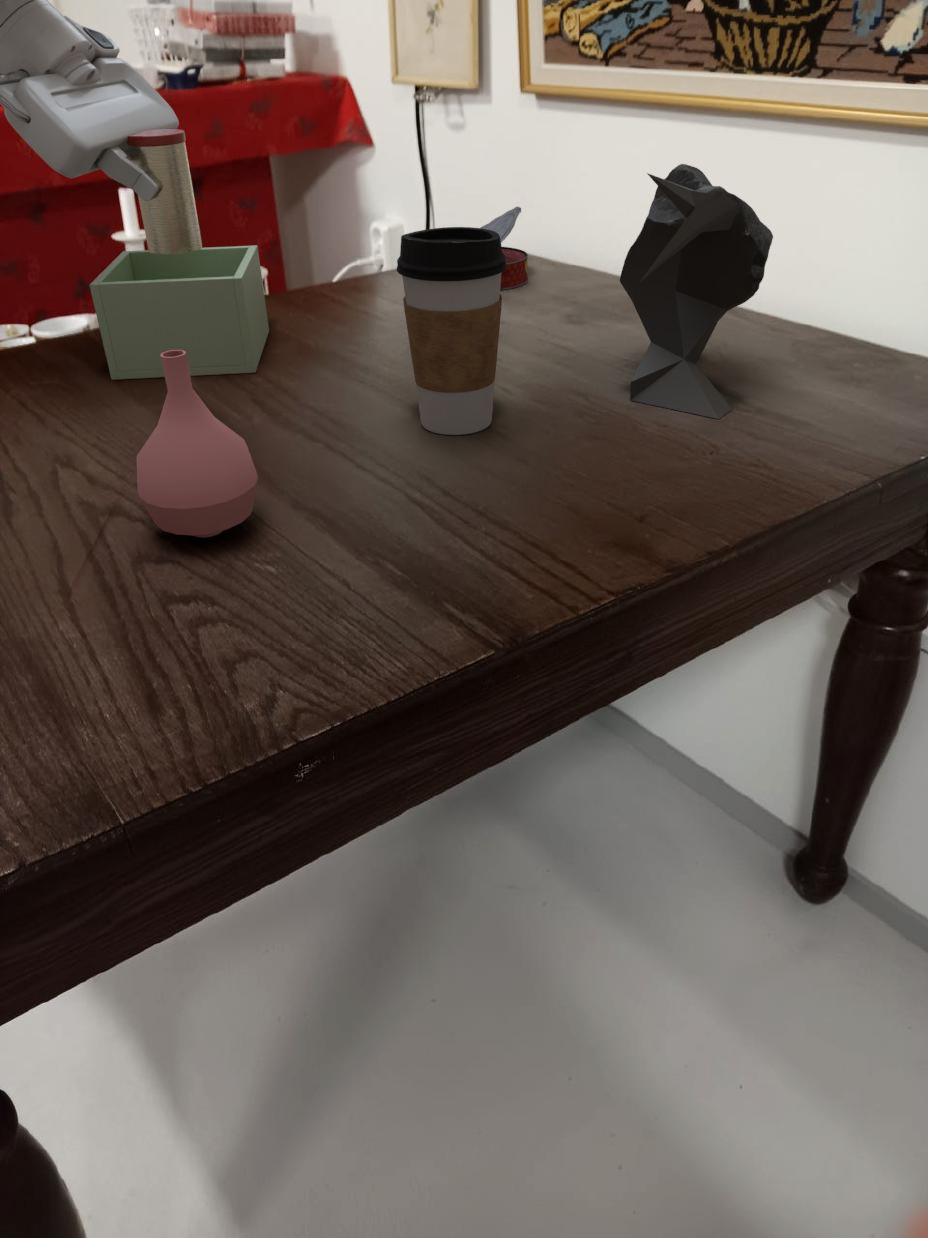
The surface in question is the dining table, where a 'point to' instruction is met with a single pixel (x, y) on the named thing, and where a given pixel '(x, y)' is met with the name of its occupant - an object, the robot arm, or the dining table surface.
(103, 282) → the tote
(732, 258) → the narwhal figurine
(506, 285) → the canned food
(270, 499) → the dining table surface
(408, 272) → the coffee cup
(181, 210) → the spice tin
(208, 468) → the pink vase
